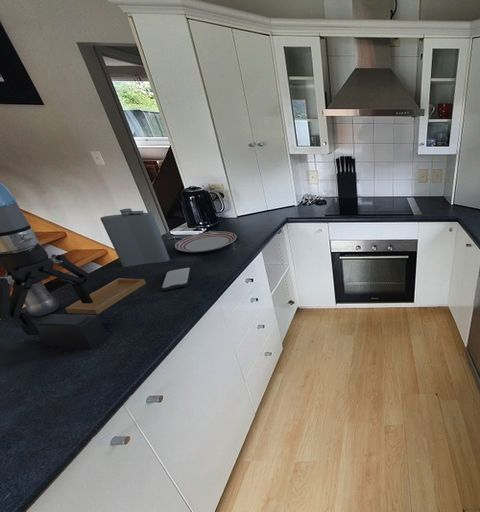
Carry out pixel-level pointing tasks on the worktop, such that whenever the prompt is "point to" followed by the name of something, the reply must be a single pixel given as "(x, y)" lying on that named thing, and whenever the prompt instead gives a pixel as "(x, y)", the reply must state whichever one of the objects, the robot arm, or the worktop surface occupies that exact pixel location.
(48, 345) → the gadget
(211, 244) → the dinner plate
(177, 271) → the phone case
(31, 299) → the plastic bottle
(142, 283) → the tray
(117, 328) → the worktop surface
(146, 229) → the flask
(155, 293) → the worktop surface
